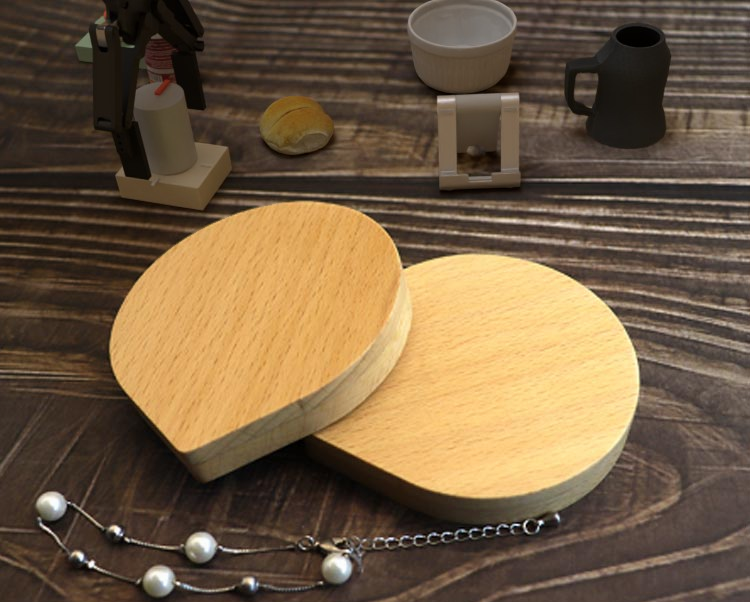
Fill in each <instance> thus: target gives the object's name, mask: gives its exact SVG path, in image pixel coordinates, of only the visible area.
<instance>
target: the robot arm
mask: <svg viewBox="0 0 750 602" xmlns="http://www.w3.org/2000/svg"><path fill="white" fill-rule="evenodd" d="M101 1H102V3H104V5H105V11H106V21H105V22H103V23H102V24H95V22H93V23H90V24H89V26H88V32H89V35H90V40H91V45H92V50H93V63H92V121H93V122H92V123H93V124H92V126H93V129H94V130H95V131H101V132H108V133H111V137H112V140H113V143H114V147H115V150H116V153H117V155H118V156H119V159H120V162H121V168H122V167H123V170H124V174H125V177H130V178H137V179H143V180H149V179H150V178H151V177H152V175H151V171H150V167H149V163H148V159H147V155H146V152H145V148H144V144H143V140H142V136H141V132H140V128H139V124H138V122H137V121H135V120H133V118H134V114H133V111H134V103H135V95H136V90H137V85H138V77H139V69H140V68H139V63H140V60H141V59H142V58H144V56H145V52H146V45H147V44H148V43H149V41H150V39H151V37H152V36H154V35H156V34H157V33H158V34H159V35H160V36H161V37H162V38H163V39H164V40H165V41H167V42H168V43H169V44H170V45H171V46H172V47H173V48H174V49H178V52H174V51H173V52H172V53H171V55H170V56H171V60H172V65H173V69H174V74H175V79H176V83H177V85H179V86H180V87H181V88H182V89H183V91H184V95H185V100H186V105H187V109H188V110H196V111H205V110H206V108H207V103H206V98H205V93H204V88H203V83H202V77H201V73H200V66H199V62H198V57H197V53H203V52H204V50H205V41H204V40H199V38H201V39H202V38H203V37H204V34H205V29H204V26H203V24H202V23H201V21H200V19H199V17H198V15H197V14H196V12H195V10H194V8H193V6H192V4H191V3H190V1H189V0H101ZM122 41H123V42H124V43H125V44H127V45H133V46H135V47H134V48H129V47H121V43H122Z"/></svg>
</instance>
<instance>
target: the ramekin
mask: <svg viewBox="0 0 750 602" xmlns="http://www.w3.org/2000/svg"><path fill="white" fill-rule="evenodd" d="M517 19H518V18H517V15H516V14H515V13H514V11H513V10H512V9H511V8H510V7H508V6H507V4H504V3H502V2H500V1H498V0H428V1H426V2H424V3H422V4H420V5H419V6H417V8H415V9H414V10H413V11H411V13H410V15H409V17H408V19H407V36H408V39H409V42H410V48H411V49H410V50H411V56H412V61H413V62H412V63H413V67H414V70H415V72H416V73H415V74H417V76H418V78H419V79H420V80H421V81H422V82H423V83H424V84H425V85H426V86H428V87H429V88H432V89H433V90H436V91H439V92H441V93H442V92H443V93H446V94H447V93H448V94H453V95H469V94H476V93H479V92H482V91H485V90H488V89H490V88H491V87H494V86H495V85H496V84H498V83H499V81H501V80H502V79H503V78H504V77H505V75H506V73H507V72H508V69H509V67H510V62H511V59H512V58H511V57H512V52H513V47H514V46H513V45H514V40H515V39H516V36H517V33H518V20H517Z"/></svg>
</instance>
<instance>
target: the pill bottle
mask: <svg viewBox="0 0 750 602" xmlns="http://www.w3.org/2000/svg"><path fill="white" fill-rule="evenodd" d="M173 51H174V52H178V49H174V48H173V47H172V46H171V45H170V44H169V43H168V42H167V41H165V40H164V39H163V38H162V37H161V36H160V35H159V34H158V33H157V34H156V35H154V36H152V37H151V39H150V41H149V43H148V44H147V45H146V52H145V56H144V59H145V63H146V67H147V69H146V70H147V75H148V80H149V84H151V83H155V82H164V80H165V79H166V80H170V83H174V84H177V83H176V79H175V74H174V69H173V65H172V60H171V56H170V55H171V53H172V52H173Z"/></svg>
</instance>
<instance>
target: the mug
mask: <svg viewBox="0 0 750 602" xmlns="http://www.w3.org/2000/svg"><path fill="white" fill-rule="evenodd" d="M671 61H672V53H671V50H670V48H669V46H668V44H667V39H666V34H665V32H664V31H663V30H662V29H661V28H659V27H658V26H656V25H653V24H650V23H645V22H627V23H624V24H621V25H618V26H617V27H616V28H614V29H613V31H612V33H611V34H610V37H609V38H608V40H607V41H606V42H605V44H604V45H603V46H602V47H600V49H599V50H598V51H597V52H596V53H595V55H593V56H589V57H579V58H575V59H570V60H568V61H567V62H566V63H565V67H564V68H565V69H564V84H563V85H564V86H563V95H564V99H565V102H566V103H567V104H566V105H567V107H568V108H569V110H570V111H571V113H572V114H574V115H577V116H585V117H586V120H585V130H586V132H587V134H588V135H589V136H590V137H591V138H592V139H594V140H595V141H597V142H598V143H600V144H602V145H605V146H608V147H612V148H616V149H617V148H618V149H626V150H627V149H633V150H634V149H641V148H645V147H650V146H652V145H654V144H656V143H658V142H659V141H660V140H661V139H663V138H664V137H665V134H666V131H667V121H666V113H665V108H664V106H663V102H664V96H665V91H666V86H667V83H668V78H669V74H670V67H671V63H672V62H671ZM580 73H581V74H585V73H586V74H588V73H590V74H597V87H596V90H595V91H596V92H595V97H594V101H593V103H592V106H591V107H590V106H587V105H585V104H584V103H582V102H579V101H577V100H576V99H575V88H576V79H577V75H578V74H580Z"/></svg>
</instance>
